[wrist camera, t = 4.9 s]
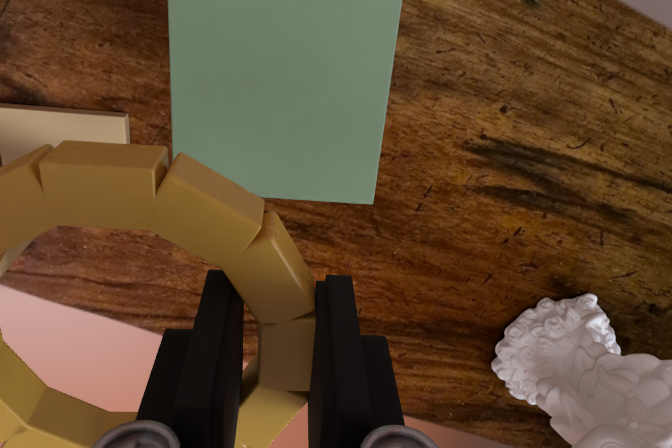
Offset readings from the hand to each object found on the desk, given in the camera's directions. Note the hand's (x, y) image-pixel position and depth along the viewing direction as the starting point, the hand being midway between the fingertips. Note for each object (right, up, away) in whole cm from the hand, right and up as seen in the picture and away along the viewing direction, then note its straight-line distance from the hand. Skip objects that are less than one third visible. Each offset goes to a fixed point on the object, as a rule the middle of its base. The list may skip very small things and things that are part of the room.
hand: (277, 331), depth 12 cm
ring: (-3, 0, 0) cm, 3 cm away
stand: (-2, +14, +23) cm, 27 cm away
